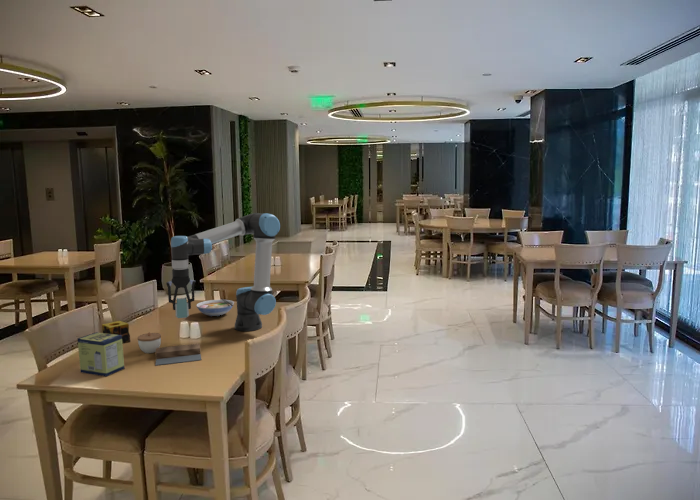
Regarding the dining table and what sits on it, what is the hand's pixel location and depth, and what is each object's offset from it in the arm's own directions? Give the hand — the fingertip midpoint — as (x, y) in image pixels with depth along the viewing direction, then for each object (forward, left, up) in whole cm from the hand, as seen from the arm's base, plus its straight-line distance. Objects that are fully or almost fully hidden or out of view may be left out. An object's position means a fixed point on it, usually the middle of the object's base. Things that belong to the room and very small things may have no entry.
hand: (182, 316), depth 255 cm
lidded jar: (+16, -6, -18) cm, 25 cm away
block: (0, 0, 0) cm, 0 cm away
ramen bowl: (-20, -66, -18) cm, 71 cm away
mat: (+3, +13, -18) cm, 22 cm away
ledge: (+3, +4, -18) cm, 18 cm away
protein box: (+35, +15, -18) cm, 42 cm away
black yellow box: (+33, -28, -18) cm, 47 cm away
